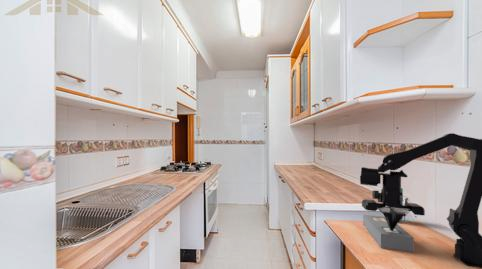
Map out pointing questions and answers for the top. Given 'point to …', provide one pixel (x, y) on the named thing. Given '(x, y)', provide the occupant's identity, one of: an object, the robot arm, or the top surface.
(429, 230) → the top surface
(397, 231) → the white peg
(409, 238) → the collar block
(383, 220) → the birch peg
